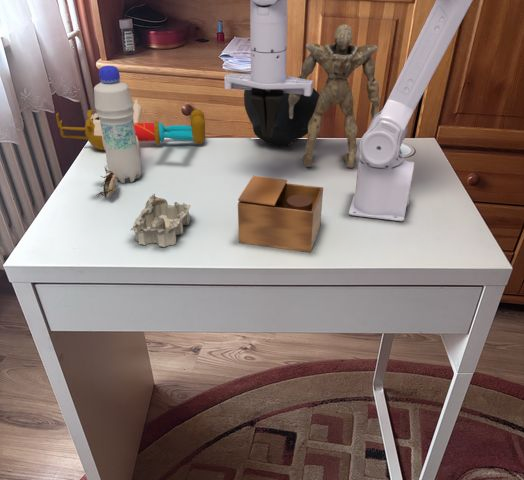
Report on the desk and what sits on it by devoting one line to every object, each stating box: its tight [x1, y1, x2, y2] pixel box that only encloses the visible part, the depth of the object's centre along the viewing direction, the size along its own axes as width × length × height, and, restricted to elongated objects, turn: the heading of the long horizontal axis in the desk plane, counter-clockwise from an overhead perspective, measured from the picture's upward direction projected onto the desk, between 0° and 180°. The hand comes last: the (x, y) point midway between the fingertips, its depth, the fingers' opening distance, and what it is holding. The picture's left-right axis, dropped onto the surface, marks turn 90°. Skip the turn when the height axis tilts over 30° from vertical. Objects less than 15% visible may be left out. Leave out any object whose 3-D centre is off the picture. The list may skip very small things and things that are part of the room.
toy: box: [55, 99, 206, 153], centre depth 116 cm, size 25×8×30 cm
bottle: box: [93, 65, 142, 184], centre depth 100 cm, size 7×7×20 cm
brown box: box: [237, 182, 324, 253], centre depth 88 cm, size 12×9×7 cm
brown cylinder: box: [287, 195, 312, 211], centre depth 88 cm, size 4×4×6 cm
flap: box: [237, 175, 288, 206], centre depth 86 cm, size 6×9×1 cm, turn 165°
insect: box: [96, 164, 118, 198], centre depth 100 cm, size 6×9×3 cm
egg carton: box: [130, 193, 191, 248], centre depth 90 cm, size 11×8×4 cm
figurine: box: [288, 23, 381, 169], centre depth 104 cm, size 18×8×25 cm, turn 91°
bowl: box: [243, 87, 320, 148], centre depth 115 cm, size 17×17×10 cm
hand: (267, 135), depth 96 cm, fingers closed
